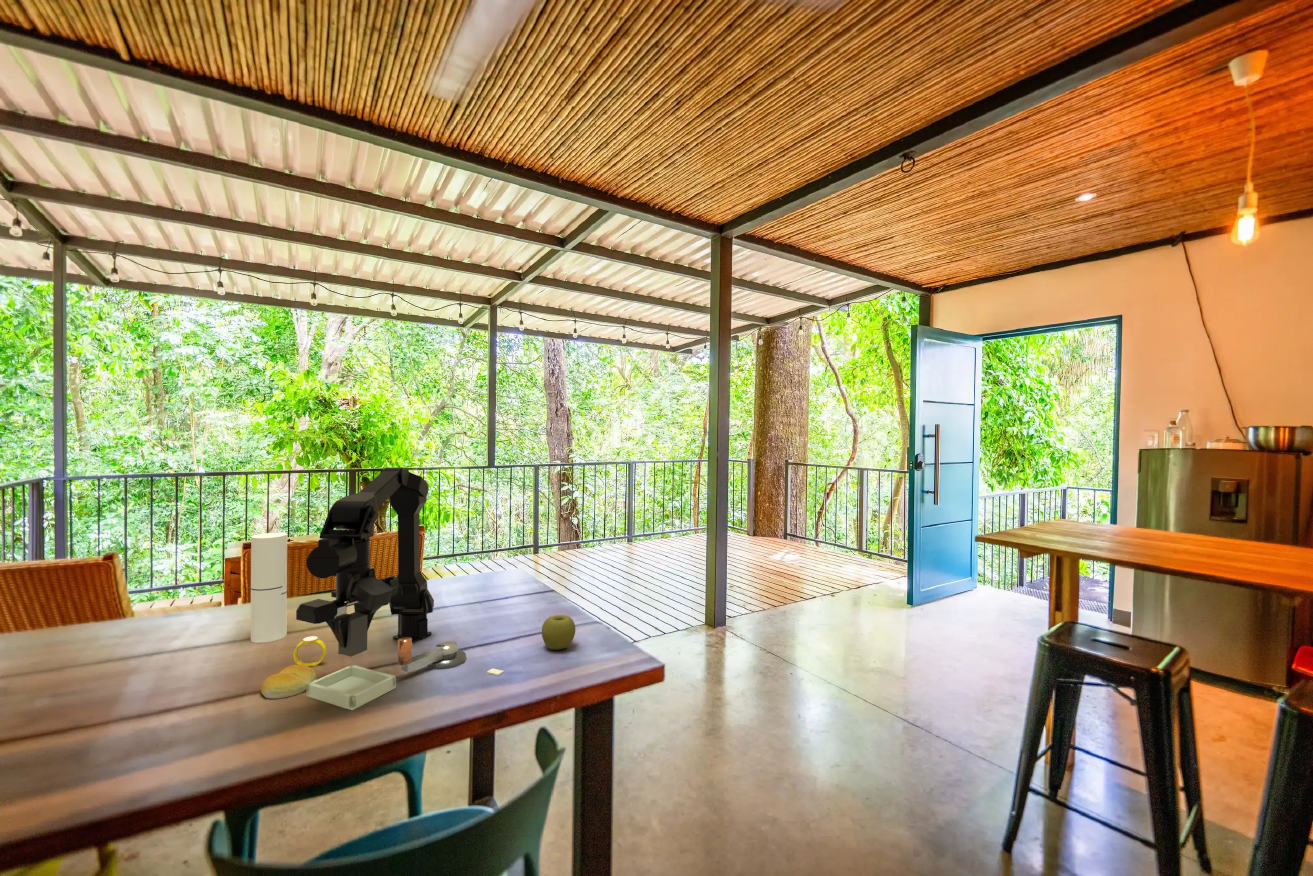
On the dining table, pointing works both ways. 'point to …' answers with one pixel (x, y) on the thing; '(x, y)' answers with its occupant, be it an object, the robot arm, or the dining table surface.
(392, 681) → the tray
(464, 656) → the hub plate
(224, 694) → the dining table surface
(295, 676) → the bread roll
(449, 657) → the crank
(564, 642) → the apple
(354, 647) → the dark gray rectangular block
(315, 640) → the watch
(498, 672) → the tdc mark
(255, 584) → the cylindrical container
